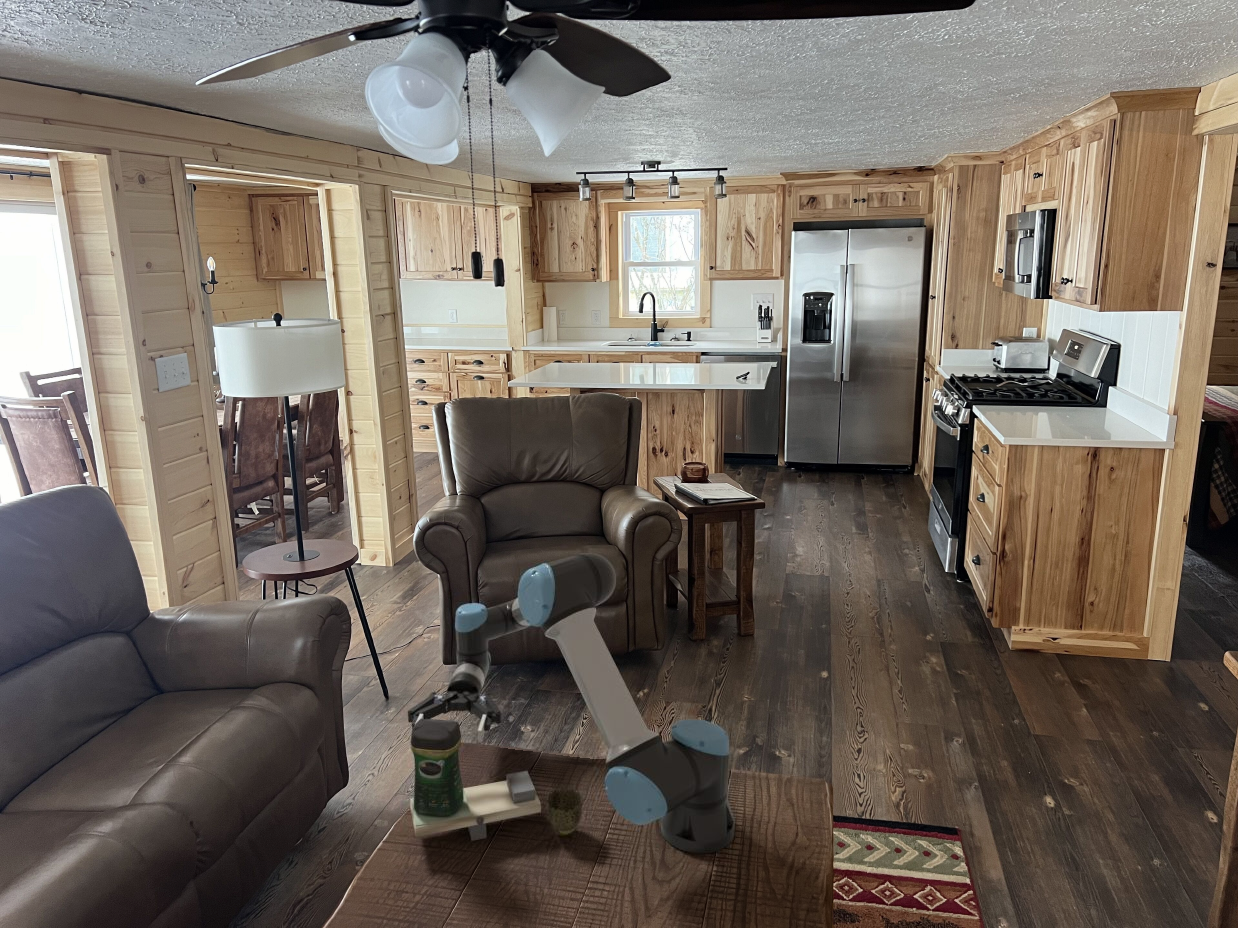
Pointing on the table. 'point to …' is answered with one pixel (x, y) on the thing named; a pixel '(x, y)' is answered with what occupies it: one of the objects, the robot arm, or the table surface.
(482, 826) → the beam stand
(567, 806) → the cup
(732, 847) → the table surface
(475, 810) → the beam
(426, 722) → the coffee jar
